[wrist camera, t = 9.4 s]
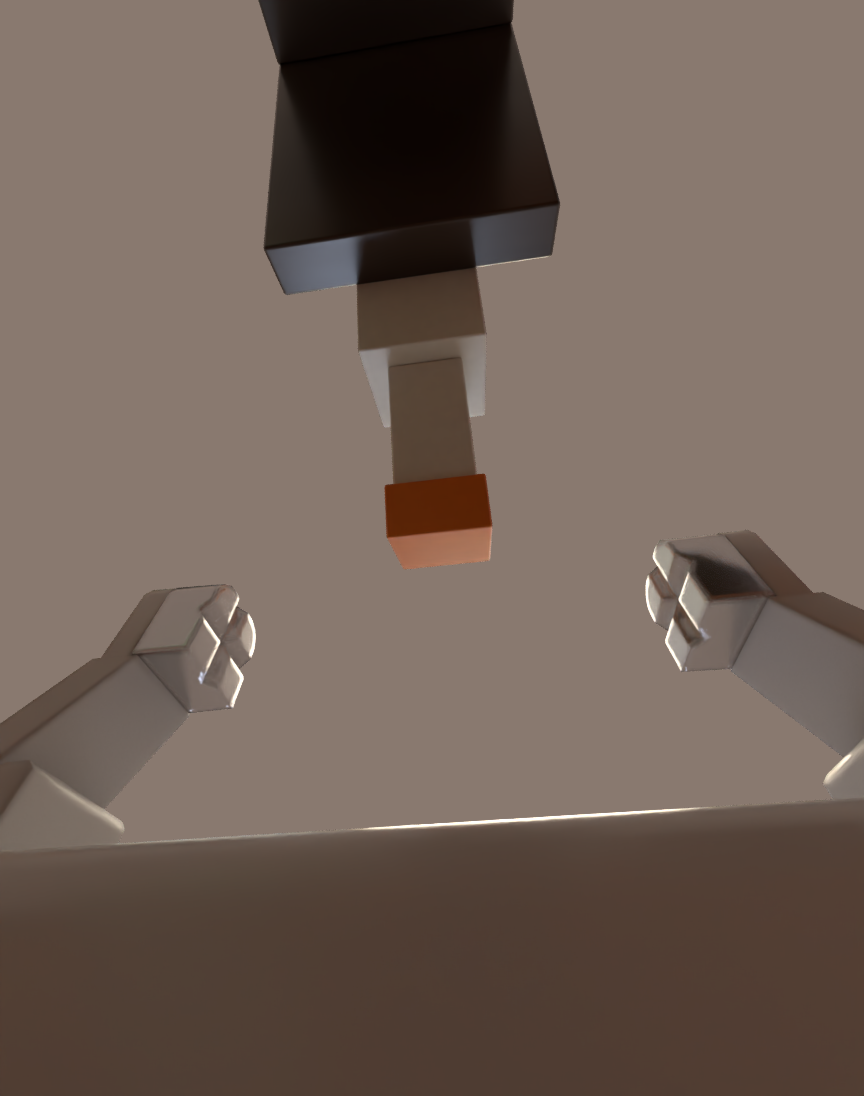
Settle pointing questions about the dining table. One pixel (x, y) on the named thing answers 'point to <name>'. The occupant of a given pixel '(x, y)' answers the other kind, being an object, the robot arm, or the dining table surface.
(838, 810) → the robot arm
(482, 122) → the dark l-shaped bracket
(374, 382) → the white bottle
